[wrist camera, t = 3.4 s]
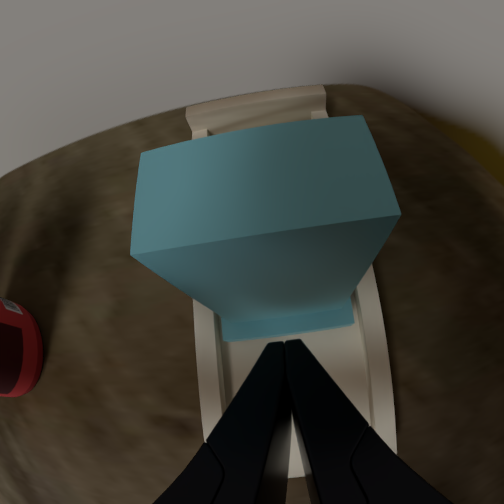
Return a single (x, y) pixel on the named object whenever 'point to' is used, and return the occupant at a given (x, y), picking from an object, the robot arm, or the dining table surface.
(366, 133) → the slider
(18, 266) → the dining table surface
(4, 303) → the canned food
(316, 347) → the box
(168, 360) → the dining table surface
